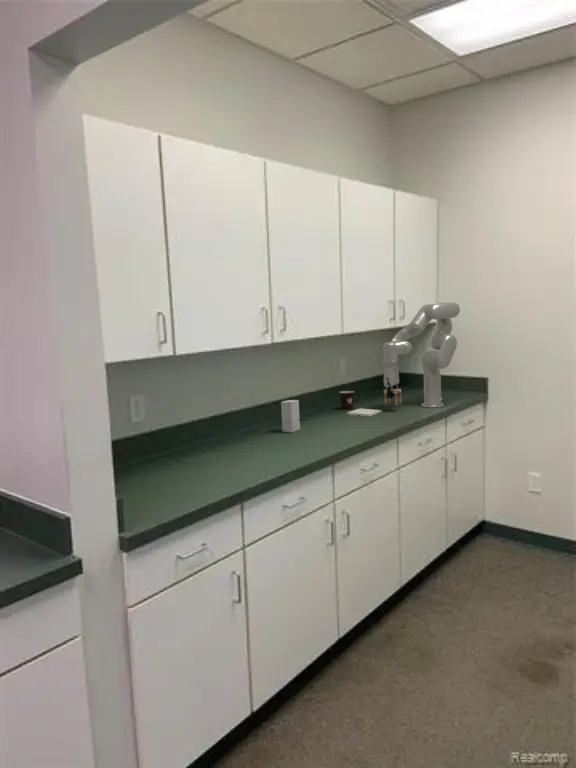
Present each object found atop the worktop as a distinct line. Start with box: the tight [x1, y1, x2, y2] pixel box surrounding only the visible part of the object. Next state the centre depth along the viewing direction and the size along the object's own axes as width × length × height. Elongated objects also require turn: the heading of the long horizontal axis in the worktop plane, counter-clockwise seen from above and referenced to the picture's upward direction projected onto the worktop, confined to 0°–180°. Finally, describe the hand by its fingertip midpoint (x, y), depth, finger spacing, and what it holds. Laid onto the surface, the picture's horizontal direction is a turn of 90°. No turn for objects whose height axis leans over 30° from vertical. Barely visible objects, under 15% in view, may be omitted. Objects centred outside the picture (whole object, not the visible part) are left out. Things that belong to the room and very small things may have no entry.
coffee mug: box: [339, 390, 361, 411], centre depth 340 cm, size 12×9×10 cm
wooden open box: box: [383, 388, 403, 406], centre depth 326 cm, size 6×8×8 cm
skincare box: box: [280, 399, 301, 433], centre depth 288 cm, size 8×6×15 cm
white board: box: [346, 408, 383, 417], centre depth 325 cm, size 14×14×1 cm
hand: (392, 396), depth 326 cm, fingers closed on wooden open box, 5 cm apart
